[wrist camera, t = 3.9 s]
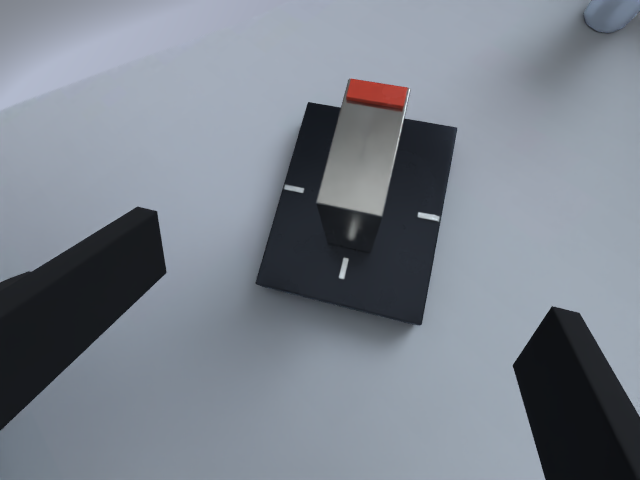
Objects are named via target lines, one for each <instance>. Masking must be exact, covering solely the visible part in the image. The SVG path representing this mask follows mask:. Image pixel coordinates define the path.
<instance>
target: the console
mask: <svg viewBox="0 0 640 480" xmlns="http://www.w3.org/2000/svg"><path fill="white" fill-rule="evenodd" d="M340 110H341V108H339V107H334V106H328V105H322V104H316V103H310V102H308V104H307V107H306V111H305V114H304V118H303V121H302V125H301V128H300V131H299V135H298V138H297V142H296V145H295V149H294V152H293V156H292V159H291V162H290V166H289V169H288V173H287V176H286V180H285V183H284V187H283V190H282V193H281V197H280V200H279V204H278V207H277V211H276V214H275V218H274V221H273V224H272V228H271V231H270V235H269V238H268V242H267V245H266V248H265V252H264V255H263V259H262V262H261V266H260V269H259V273H258V276H257V279H256V284H257V285H260V286H262V287H265V288H269V289H273V290H277V291H281V292H285V293H289V294H293V295H297V296H301V297H305V298H309V299H313V300H317V301H321V302H325V303H329V304H333V305H337V306H341V307H345V308H349V309H353V310H357V311H361V312H365V313H369V314H373V315H377V316H381V317H385V318H389V319H393V320H397V321H401V322H404V323H408V324H412V325H421V324H422V320H423V314H424V309H425V303H426V298H427V292H428V287H429V281H430V276H431V270H432V265H433V259H434V254H435V248H436V243H437V237H438V232H439V226H440V221H441V215H442V210H443V204H444V199H445V193H446V188H447V182H448V177H449V171H450V166H451V160H452V155H453V149H454V144H455V138H456V133H457V128H456V127H450V126H444V125H439V124H433V123H427V122H421V121H415V120H409V119H404V122H403V127H402V131H401V136H400V140H399V145H398V149H397V154H396V159H395V163H394V168H393V172H392V177H391V181H390V186H389V190H388V195H387V199H386V204H385V208H384V213H383V217H382V220H381V223H380V226H379V229H378V233H377V236H376V239H375V242H374V245H373V248H372V251H371V253H369V252H364V251H360V250H356V249H351V248H347V247H342V246H338V245H334V244H329V243H327V241H326V237H325V233H324V230H323V226H322V222H321V219H320V215H319V211H318V208H317V204H316V200H317V196H318V192H319V188H320V185H321V181H322V177H323V173H324V170H325V166H326V162H327V158H328V155H329V151H330V147H331V143H332V140H333V136H334V132H335V128H336V125H337V121H338V117H339V113H340Z"/></svg>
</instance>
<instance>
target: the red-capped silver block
mask: <svg viewBox="0 0 640 480" xmlns="http://www.w3.org/2000/svg"><path fill="white" fill-rule="evenodd" d="M409 95H410V88H407V87H400V86H394V85H388V84H381V83H375V82H369V81H363V80H356V79H349V80H348V83H347V87H346V91H345V95H344V98H343V102H342V106H341V110H340V113H339V117H338V121H337V125H336V128H335V132H334V136H333V140H332V143H331V147H330V151H329V155H328V158H327V162H326V166H325V170H324V173H323V177H322V181H321V185H320V188H319V192H318V196H317V200H316V204H317V208H318V211H319V215H320V219H321V222H322V226H323V230H324V233H325V237H326V241H327V243H329V244H334V245H338V246H342V247H347V248H351V249H356V250H360V251H364V252H369V253H371V251H372V248H373V245H374V242H375V239H376V236H377V233H378V229H379V226H380V223H381V220H382V217H383V213H384V208H385V204H386V199H387V195H388V190H389V186H390V181H391V177H392V172H393V168H394V163H395V159H396V154H397V149H398V145H399V140H400V136H401V131H402V127H403V122H404V118H405V113H406V109H407V104H408V100H409Z"/></svg>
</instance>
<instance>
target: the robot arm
mask: <svg viewBox="0 0 640 480" xmlns="http://www.w3.org/2000/svg"><path fill="white" fill-rule="evenodd" d="M165 274H166V266H165V260H164V254H163V247H162V241H161V234H160V228H159V221H158V215H157V211H154V210H149V209H145V208H141V207H136V208H135V209H133V210H131V211H130V212H128V213H126V214H125V215H123V216H122V217H120V218H118V219H117V220H115V221H113V222H112V223H110V224H109V225H107V226H105V227H104V228H102V229H100V230H99V231H97V232H96V233H94V234H92V235H91V236H89V237H87V238H86V239H84V240H83V241H81V242H79V243H78V244H76V245H74V246H73V247H71V248H70V249H68V250H66V251H65V252H63V253H61V254H60V255H58V256H57V257H55V258H53V259H52V260H50V261H49V262H47V263H45V264H44V265H42V266H40V267H39V268H37V269H36V270H34V271H32V272H29V271H28V272H26V273H23V274H20V275H18V276H15V277H12V278H10V279H7V280H4V281H3V282H1V283H0V430H1V429H3V428H4V427H5V426H6V425H7V424H8V423H9V422H10V421H11V420H12V419H13V418H14V417H15V416H16V415H17V414H18V413H19V412H20V411H21V410H23V409H24V408H25V407H26V406H27V405H28V404H29V403H30V402H31V401H32V400H33V399H34V398H35V397H36V396H37V395H38V394H39V393H40V392H41V391H43V390H44V389H45V388H46V387H47V386H48V385H49V384H50V383H51V382H52V381H53V380H54V379H55V378H56V377H57V376H58V375H59V374H60V373H61V372H63V371H64V370H65V369H66V368H67V367H68V366H69V365H70V364H71V363H72V362H73V361H74V360H75V359H76V358H77V357H78V356H79V355H80V354H81V353H83V352H84V351H85V350H86V349H87V348H88V347H89V346H90V345H91V344H92V343H93V342H94V341H95V340H96V339H97V338H98V337H99V336H100V335H101V334H103V333H104V332H105V331H106V330H107V329H108V328H109V327H110V326H111V325H112V324H113V323H114V322H115V321H116V320H117V319H118V318H119V317H120V316H121V315H123V314H124V313H125V312H126V311H127V310H128V309H129V308H130V307H131V306H132V305H133V304H134V303H135V302H136V301H137V300H138V299H139V298H140V297H141V296H143V295H144V294H145V293H146V292H147V291H148V290H149V289H150V288H151V287H152V286H153V285H154V284H155V283H156V282H157V281H158V280H159V279H160V278H161V277H163V276H164V275H165ZM513 368H514V371H515V375H516V378H517V382H518V385H519V389H520V392H521V395H522V399H523V402H524V406H525V409H526V413H527V416H528V420H529V423H530V427H531V430H532V434H533V437H534V441H535V444H536V448H537V451H538V455H539V458H540V462H541V465H542V469H543V472H544V476H545V479H546V480H640V417H639V415H638V413H637V411H636V410H635V408H634V406H633V405H632V403H631V401H630V399H629V398H628V396H627V394H626V392H625V391H624V389H623V387H622V386H621V384H620V382H619V380H618V379H617V377H616V375H615V373H614V372H613V370H612V368H611V367H610V365H609V363H608V361H607V360H606V358H605V356H604V355H603V353H602V351H601V349H600V348H599V346H598V344H597V342H596V341H595V339H594V337H593V336H592V334H591V332H590V330H589V329H588V327H587V325H586V323H585V322H584V320H583V318H582V317H581V315H580V313H578V312H573V311H569V310H565V309H561V308H557V307H553V306H552V307H551V309H550V310H549V312H548V313H547V315H546V316H545V318H544V319H543V321H542V322H541V324H540V325H539V327H538V328H537V330H536V331H535V333H534V334H533V336H532V337H531V339H530V340H529V342H528V343H527V345H526V346H525V348H524V349H523V351H522V352H521V354H520V355H519V357H518V358H517V360H516V361H515V363H514V364H513Z"/></svg>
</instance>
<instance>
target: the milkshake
mask: <svg viewBox="0 0 640 480" xmlns="http://www.w3.org/2000/svg"><path fill="white" fill-rule="evenodd" d="M639 12H640V0H591V1H590V3H589V4H588V6H587V8H586V10H585V11H584V13H583V14H584V17H585V21H586V24H587V25H589V26H590V27H591V28H593V29H594V30H596V31H598V32H606V33H612V32H614V31H617V30H619V29H622V28H623V27H624V26H625V25H627V24H628V23H629V22H630V21H631V20H632V19H633V18H634V17H635V16H636V15H637V14H638V13H639Z"/></svg>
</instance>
